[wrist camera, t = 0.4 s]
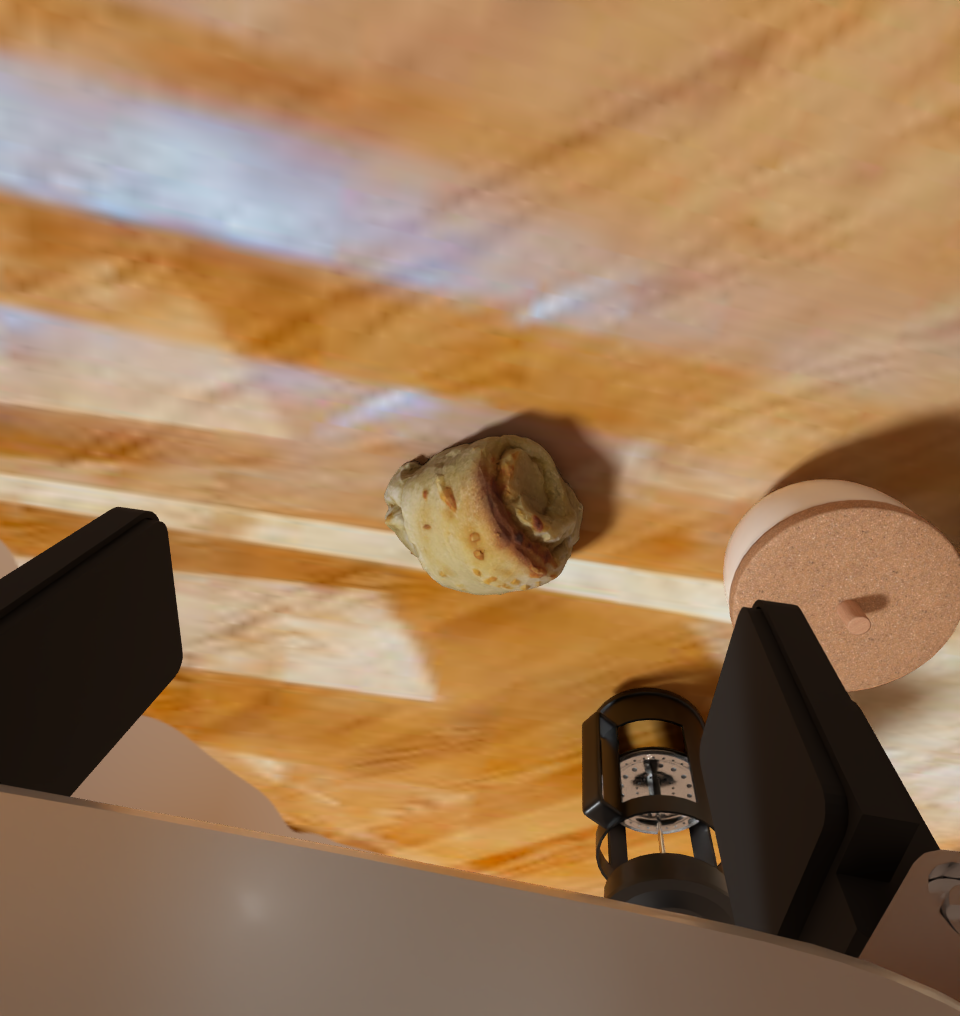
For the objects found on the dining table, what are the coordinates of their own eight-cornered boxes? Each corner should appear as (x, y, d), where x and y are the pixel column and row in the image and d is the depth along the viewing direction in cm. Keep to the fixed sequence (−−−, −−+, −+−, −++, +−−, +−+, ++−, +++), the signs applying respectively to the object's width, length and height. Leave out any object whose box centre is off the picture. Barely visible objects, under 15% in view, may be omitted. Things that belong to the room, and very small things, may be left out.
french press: (736, 736, 54) (834, 1062, 33) (656, 796, 58) (698, 1122, 37) (627, 655, 52) (658, 946, 32) (552, 723, 56) (535, 1022, 35)
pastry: (615, 477, 47) (621, 525, 40) (531, 606, 52) (524, 669, 45) (437, 384, 46) (410, 416, 39) (371, 525, 51) (336, 576, 44)
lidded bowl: (934, 548, 46) (1034, 644, 36) (772, 641, 50) (819, 748, 40) (831, 414, 43) (908, 475, 33) (669, 525, 48) (693, 609, 38)
